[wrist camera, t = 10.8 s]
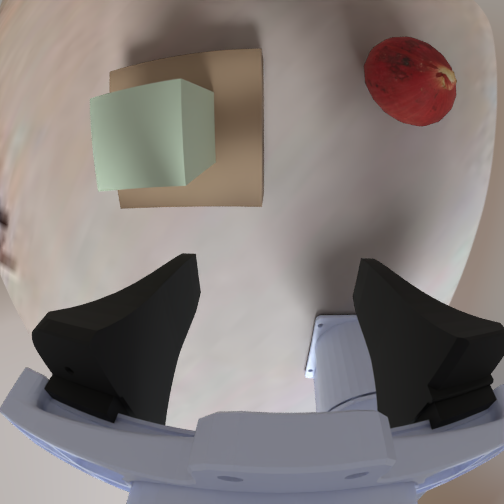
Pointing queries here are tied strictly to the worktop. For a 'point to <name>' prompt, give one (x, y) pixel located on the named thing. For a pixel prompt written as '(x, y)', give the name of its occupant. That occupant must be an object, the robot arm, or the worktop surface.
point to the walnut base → (226, 127)
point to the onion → (410, 80)
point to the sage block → (152, 135)
